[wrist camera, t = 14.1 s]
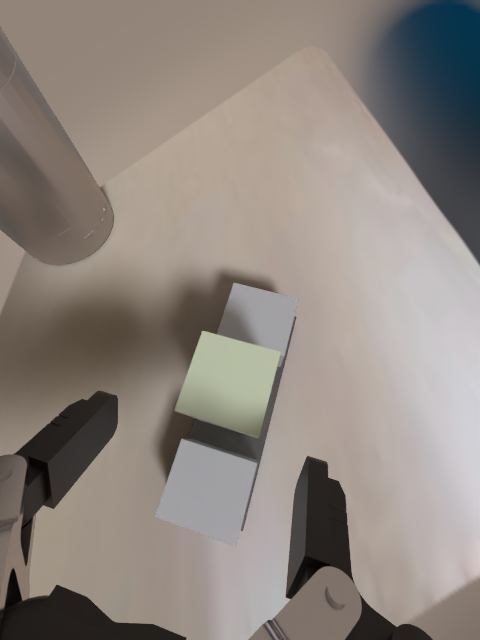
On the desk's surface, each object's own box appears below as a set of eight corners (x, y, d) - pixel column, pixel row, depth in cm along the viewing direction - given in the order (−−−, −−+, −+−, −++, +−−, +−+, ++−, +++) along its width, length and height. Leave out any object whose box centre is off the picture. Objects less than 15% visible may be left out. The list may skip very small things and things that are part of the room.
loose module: (205, 422, 24) (174, 410, 14) (221, 371, 25) (202, 330, 16) (256, 438, 23) (258, 437, 14) (270, 385, 24) (281, 351, 15)
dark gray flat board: (170, 501, 23) (166, 504, 22) (234, 305, 28) (233, 300, 27) (243, 527, 22) (242, 531, 21) (294, 321, 27) (296, 316, 26)
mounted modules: (169, 505, 22) (155, 517, 19) (236, 301, 27) (233, 282, 24) (239, 530, 21) (236, 546, 18) (293, 316, 26) (298, 298, 23)
